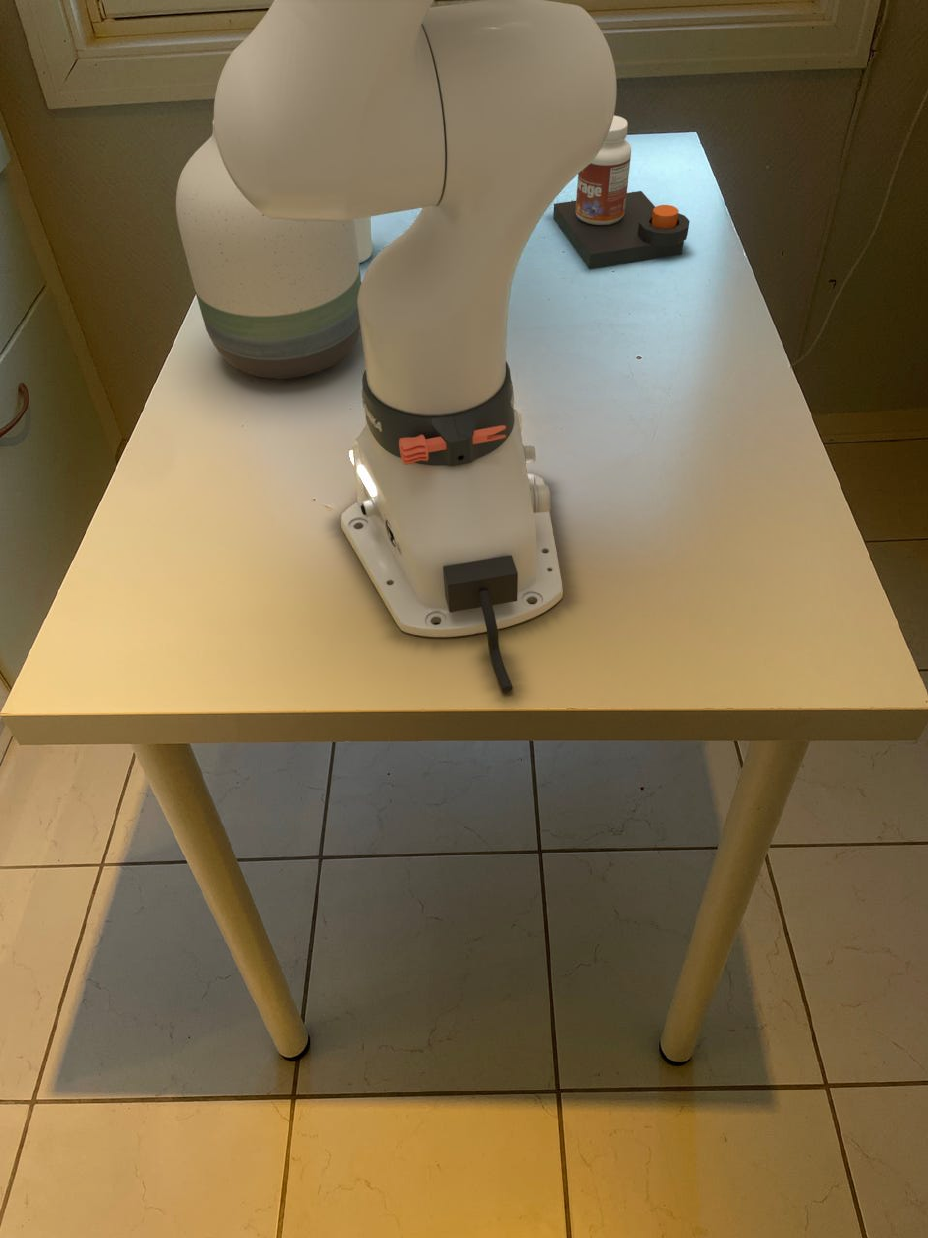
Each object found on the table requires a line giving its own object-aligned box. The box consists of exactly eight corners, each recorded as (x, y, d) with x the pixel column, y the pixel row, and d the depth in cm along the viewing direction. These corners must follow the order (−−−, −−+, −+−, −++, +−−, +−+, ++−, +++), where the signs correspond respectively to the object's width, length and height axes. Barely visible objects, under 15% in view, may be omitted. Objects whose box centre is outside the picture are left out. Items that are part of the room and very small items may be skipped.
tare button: (680, 228, 112) (682, 213, 110) (657, 231, 111) (658, 217, 110) (670, 217, 114) (672, 202, 112) (647, 220, 113) (649, 206, 112)
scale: (692, 256, 113) (697, 228, 111) (591, 272, 111) (594, 244, 109) (646, 203, 123) (649, 176, 120) (553, 217, 121) (554, 190, 118)
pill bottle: (565, 213, 118) (570, 119, 109) (603, 200, 120) (611, 107, 112) (596, 231, 114) (603, 136, 106) (634, 217, 116) (645, 123, 108)
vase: (399, 352, 101) (378, 117, 83) (267, 415, 94) (213, 174, 76) (312, 293, 110) (276, 69, 92) (185, 347, 103) (119, 116, 85)
